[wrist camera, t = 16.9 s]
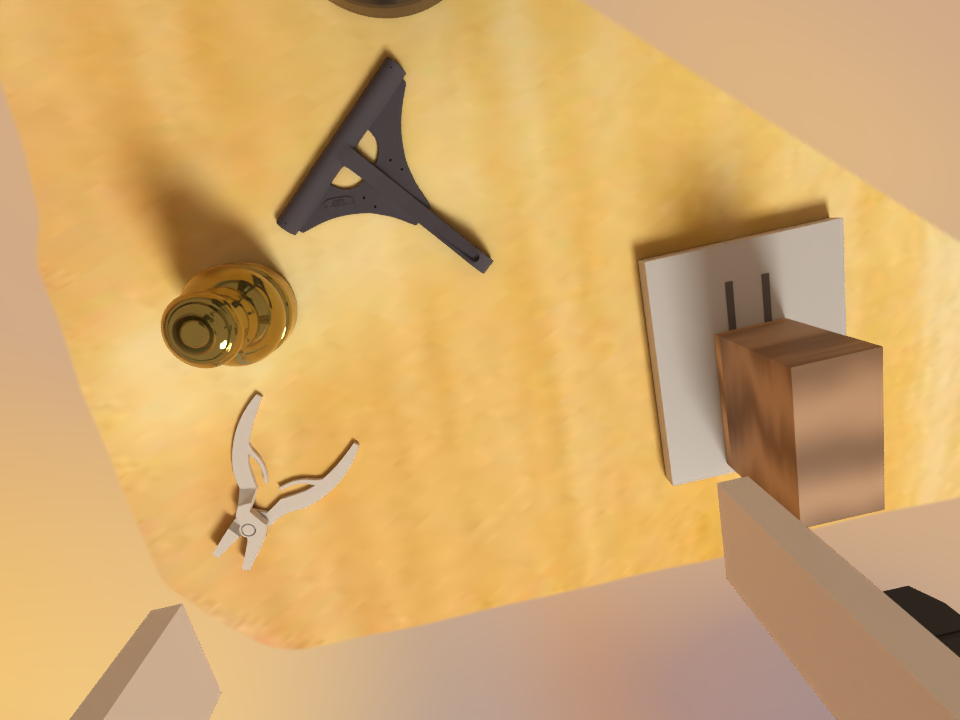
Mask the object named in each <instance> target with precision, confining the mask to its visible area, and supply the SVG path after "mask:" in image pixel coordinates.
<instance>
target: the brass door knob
mask: <svg viewBox="0 0 960 720" xmlns="http://www.w3.org/2000/svg"><path fill="white" fill-rule="evenodd" d="M296 320H297V303H296V299H295V296H294V293H293V291H292V289H291V287H290V286H289V284H288V283H287V282H286V281H285V279H284V278H283V277H282V276H281V275H279V274H278V273H277V272H276V271H274V270H272V269H271V268H269V267H267V266H264V265H262V264H258V263H253V262H237V263H228V264H223V265H219V266H214V267H210V268H207V269H205V270H203V271H201V272H199V273H198V274H196V275H195V276H194V277H192V278H191V279H190V280H189V281H188V283H187V284H186V285H185V287H184V288H183V290H182V292H181V295H180V296H179V297H177V298H176V299H174V300H173V301H172V302H171V303H170V304H169V305H168V306H167V308H166V309H165V311H164V313H163V316H162V320H161V332H162V336H163V339H164V342H165V344H166V346H167V347H168V349H169V350H170V351H171V352H172V354H173V355H174V356H176V357H177V358H178V359H179V360H181V361H182V362H184V363H186V364H188V365H191V366H194V367H198V368H213V367H217V366H221V365H226V366H246V365H250V364H254V363H256V362H259V361H261V360H262V359H264V358H265V357H267V356H268V355H269V354H271V353H272V352H273V351H275V350H276V349H277V348H278V347H279V346H280V345H281V344H282V343H283V342H285V341H286V339H287V338H288V337H289V336H290V334H291V333H292V331H293V329H294V327H295V324H296Z"/></svg>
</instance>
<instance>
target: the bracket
mask: <svg viewBox="0 0 960 720" xmlns="http://www.w3.org/2000/svg"><path fill="white" fill-rule="evenodd" d="M405 74H406V73H405V71H404V70H403V69H402V68H401V67H400V66H399V65H398V64H397V63H396V62H395V61H393V60H392V59H391V58H389V57H387V58H386V59H385V61H384V62H383V64H382V65H381V67H380V68H379V70H378V71H377V73H376V74H375V76H374V77H373V79H372V80H371V82H370V83H369V85H368V86H367V88H366V89H365V91H364V92H363V94H362V95H361V97H360V98H359V100H358V101H357V103H356V104H355V106H354V107H353V109H352V110H351V111H350V113H349V114H348V116H347V117H346V119H345V120H344V122H343V123H342V125H341V126H340V128H339V129H338V131H337V132H336V134H335V135H334V137H333V138H332V140H331V141H330V143H329V144H328V146H327V147H326V149H325V150H324V152H323V153H322V155H321V156H320V158H319V159H318V161H317V162H316V163H315V165H314V166H313V168H312V169H311V171H310V172H309V174H308V175H307V177H306V178H305V180H304V181H303V183H302V184H301V186H300V187H299V189H298V190H297V192H296V193H295V195H294V196H293V198H292V199H291V201H290V202H289V204H288V205H287V207H286V208H285V210H284V211H283V213H282V214H281V216H280V217H279V218H278V220H277V224H278V225H279V226H280V227H281V228H283V229H284V230H286V231H287V232H289V233H291V234H293V235H296V234H297V232H298V231H301V232H303V233H304V232H306V231H307V230H309V229H311V228H313V227H315V226H317V225H319V224H321V223H323V222H325V221H328V220H330V219H333V218H336V217H340V216H344V215H350V214H359V213H374V214H380V215H386V216H391V217H395V218H398V219H400V220H403V221H406V222H408V223H411V224H414V225H417V224H418V223H420V224H421V225H422V226H423V227H425V228H426V229H427V230H428V231H430V232H431V233H432V234H433V235H435V236H436V237H437V238H438V239H440V240H441V241H442V242H443V243H445V244H446V245H447V246H448V247H450V248H451V249H452V250H453V251H455V252H456V253H457V254H458V255H460V256H461V257H462V258H463V259H465V260H466V261H467V262H468V263H470V264H471V265H472V266H473V267H475V268H476V269H477V270H479V271H480V272H482V273H483V274H484V273H485V271H486V270H487V269H488V268H489V266H490V265H491V264H492V262H493V260H492V259H491V258H489V257H488V256H487V255H486V254H484V253H483V252H482V251H481V250H479V249H478V248H477V247H476V246H474V245H473V244H472V243H470V242H469V241H468V240H467V239H465V238H464V237H463V236H462V235H460V234H459V233H458V232H457V231H455V230H454V229H453V228H452V227H450V226H449V225H448V224H447V223H445V222H444V221H443V220H442V219H440V218H439V217H438V216H437V215H435V214H434V213H433V212H431V211H430V210H429V208H430V204H429V203H428V201H427V200H426V198H425V197H424V195H423V194H422V193H421V191H420V190H419V188H418V186H417V184H416V183H415V181H414V179H413V176H412V174H411V172H410V170H409V167H408V165H407V162H406V159H405V154H404V149H403V143H402V135H401V113H402V104H403V98H404V92H405V87H406V82H405V81H404V80H403V77H404V76H405ZM367 130H369V131H370V132H371V133H372V134H373V136H374V137H375V139H376V141H377V144H378V149H379V154H378V159H377V162H376V164H375V165H372V164H371V163H370V162H369V161H367V160H366V159H365V158H364V157H363V156H362V155H361V154H360V153H359V152H358V151H357V150H356V147H357V145H358V143H359V141H360V140H361V138H362V137H363V135H364V134H365V133H366V131H367ZM390 159H392V161H390ZM344 166H345V167H347V168H349V169H350V170H352V171H353V172H354V173H356V174H357V175H358V176H360V177H361V178H362V179H364V181H363V182H362V184H360V185H359V186H357V187H356V188H353V189H347V190H345V189H340V188H337V187H335V186H333V185H332V184H331V182H332V181H333V179H334V178H335V176H336V175H337V173H338V172H339V171H340V169H341V168H342V167H344ZM401 168H403V170H401ZM363 197H365V199H363ZM375 206H376V208H375Z"/></svg>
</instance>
